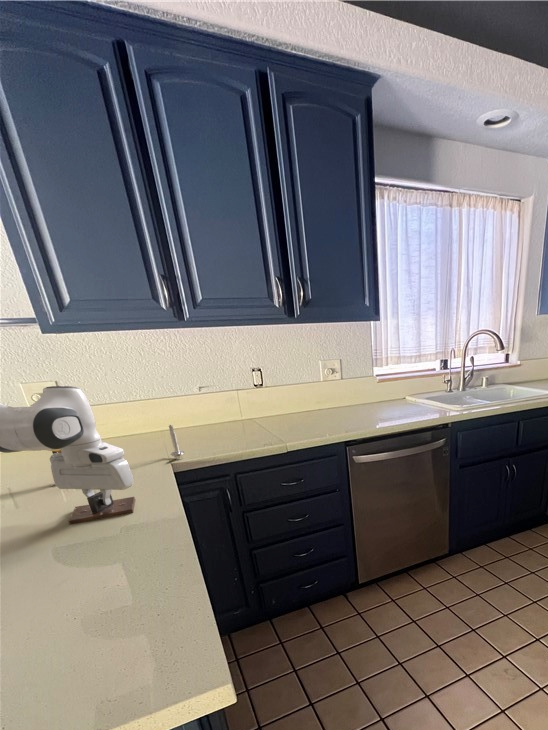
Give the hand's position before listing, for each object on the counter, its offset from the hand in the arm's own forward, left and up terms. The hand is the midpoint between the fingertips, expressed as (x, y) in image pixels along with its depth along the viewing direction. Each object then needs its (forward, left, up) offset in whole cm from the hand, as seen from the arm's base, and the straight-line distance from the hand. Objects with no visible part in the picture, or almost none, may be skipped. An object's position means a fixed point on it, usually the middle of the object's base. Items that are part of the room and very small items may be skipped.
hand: (101, 504), depth 111 cm
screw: (+19, +50, -4) cm, 54 cm away
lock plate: (0, 0, -4) cm, 4 cm away
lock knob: (0, 0, -1) cm, 1 cm away
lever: (-14, +33, +8) cm, 37 cm away
